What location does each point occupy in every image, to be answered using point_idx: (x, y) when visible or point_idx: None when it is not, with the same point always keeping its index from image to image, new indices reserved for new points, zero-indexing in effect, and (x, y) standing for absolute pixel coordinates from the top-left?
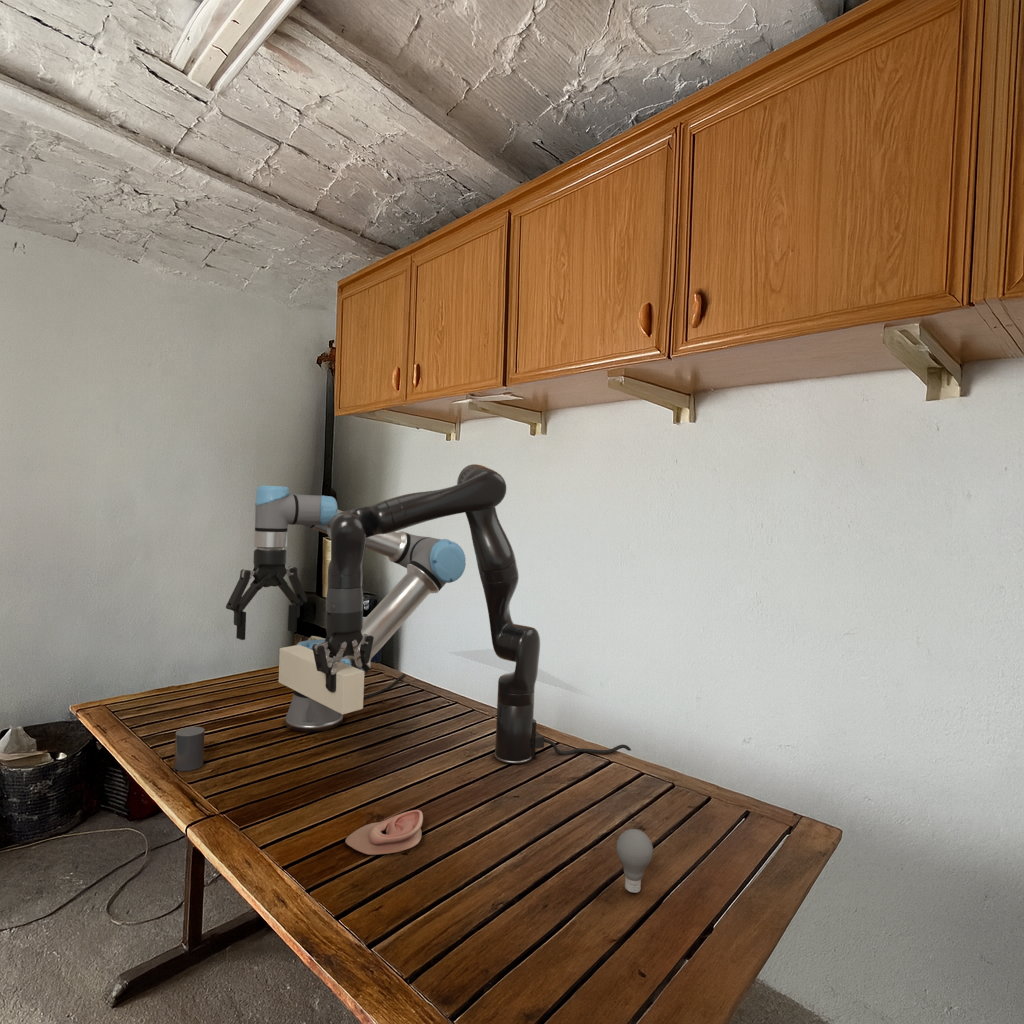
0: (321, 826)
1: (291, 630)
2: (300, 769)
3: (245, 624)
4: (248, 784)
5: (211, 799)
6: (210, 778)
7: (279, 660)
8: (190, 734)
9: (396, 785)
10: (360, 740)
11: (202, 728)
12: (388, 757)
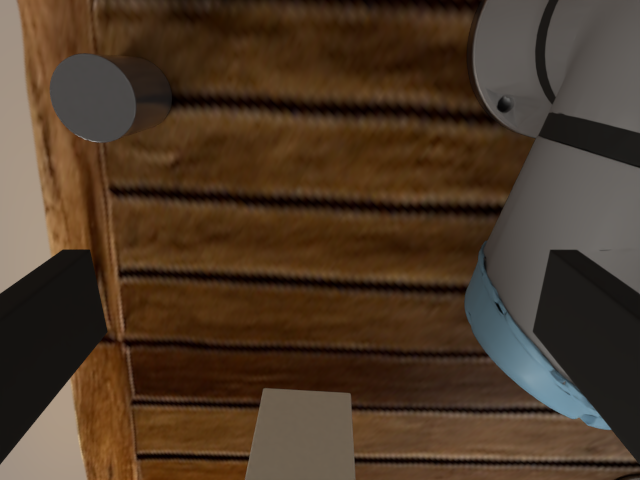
0: (231, 465)
1: (543, 305)
2: (324, 290)
3: (31, 421)
4: (208, 279)
5: (127, 287)
6: (156, 199)
7: (247, 468)
8: (86, 127)
9: (403, 447)
10: None
11: (131, 103)
12: (488, 361)
